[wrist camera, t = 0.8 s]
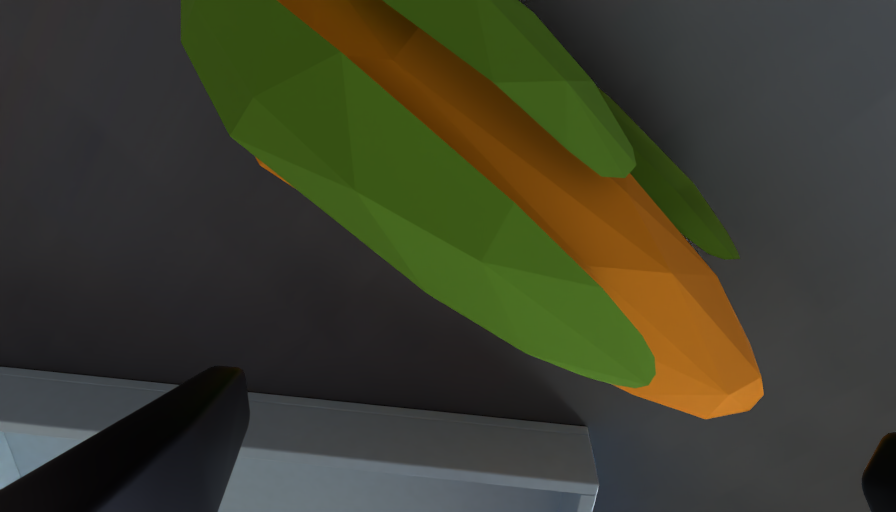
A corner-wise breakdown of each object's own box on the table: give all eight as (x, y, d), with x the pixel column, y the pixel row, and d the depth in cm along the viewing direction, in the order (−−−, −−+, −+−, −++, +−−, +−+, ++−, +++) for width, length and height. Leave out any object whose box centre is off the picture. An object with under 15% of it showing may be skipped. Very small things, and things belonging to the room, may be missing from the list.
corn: (180, -282, 8) (973, 435, 13) (335, -185, 15) (819, 263, 19) (33, 111, 11) (701, 567, 16) (212, 46, 18) (650, 382, 23)
